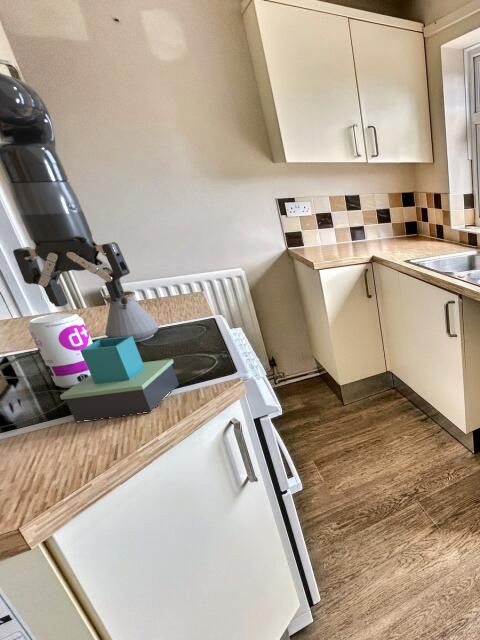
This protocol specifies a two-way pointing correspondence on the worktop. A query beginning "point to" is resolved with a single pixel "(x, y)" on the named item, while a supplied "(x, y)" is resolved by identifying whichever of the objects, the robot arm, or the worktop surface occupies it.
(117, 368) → the teal container
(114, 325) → the coffee pot
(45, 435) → the worktop surface
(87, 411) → the green and grey box
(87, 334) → the supplement can
